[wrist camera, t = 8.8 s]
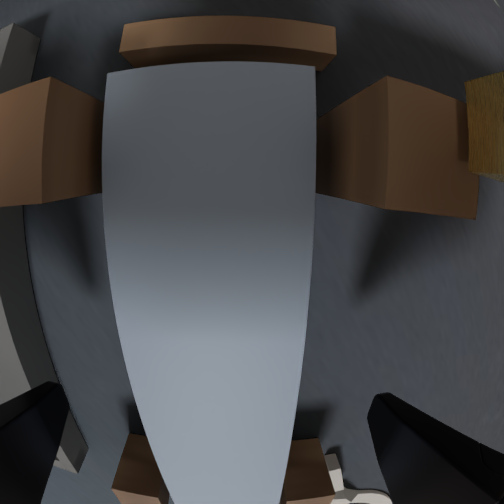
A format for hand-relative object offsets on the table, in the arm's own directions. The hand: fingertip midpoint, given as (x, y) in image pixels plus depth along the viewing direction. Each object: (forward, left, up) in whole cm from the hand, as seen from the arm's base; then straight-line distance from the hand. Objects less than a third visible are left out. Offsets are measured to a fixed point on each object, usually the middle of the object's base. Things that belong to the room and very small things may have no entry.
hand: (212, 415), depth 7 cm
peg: (0, 0, -4) cm, 4 cm away
